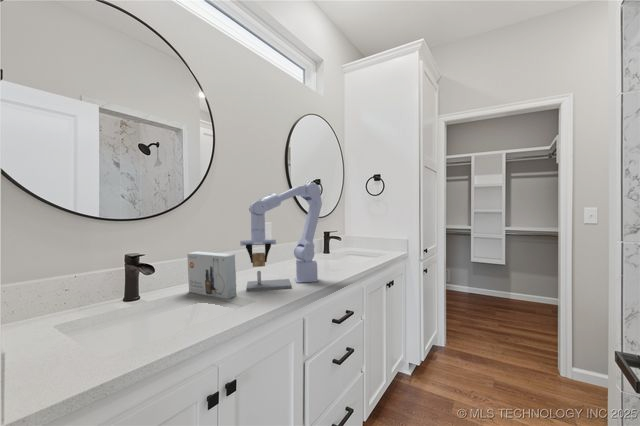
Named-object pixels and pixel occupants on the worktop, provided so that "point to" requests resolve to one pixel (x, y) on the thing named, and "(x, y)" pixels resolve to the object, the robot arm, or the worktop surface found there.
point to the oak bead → (258, 259)
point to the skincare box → (212, 274)
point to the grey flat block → (267, 284)
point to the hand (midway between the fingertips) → (258, 262)
